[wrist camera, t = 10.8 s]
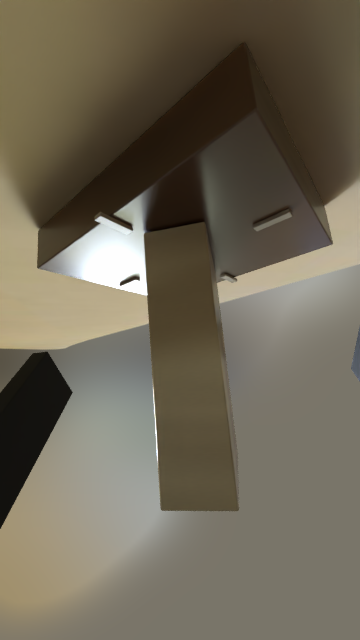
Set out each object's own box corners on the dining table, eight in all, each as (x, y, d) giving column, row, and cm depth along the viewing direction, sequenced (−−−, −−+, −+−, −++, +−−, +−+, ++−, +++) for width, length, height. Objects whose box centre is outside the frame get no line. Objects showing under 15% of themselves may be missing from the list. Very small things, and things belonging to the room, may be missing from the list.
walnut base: (166, 275, 20) (168, 303, 20) (30, 227, 13) (28, 269, 12) (326, 210, 13) (335, 249, 13) (237, 25, 6) (251, 102, 5)
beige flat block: (142, 232, 10) (160, 520, 8) (204, 220, 10) (240, 521, 8) (174, 280, 15) (190, 461, 13) (215, 273, 15) (238, 460, 13)
